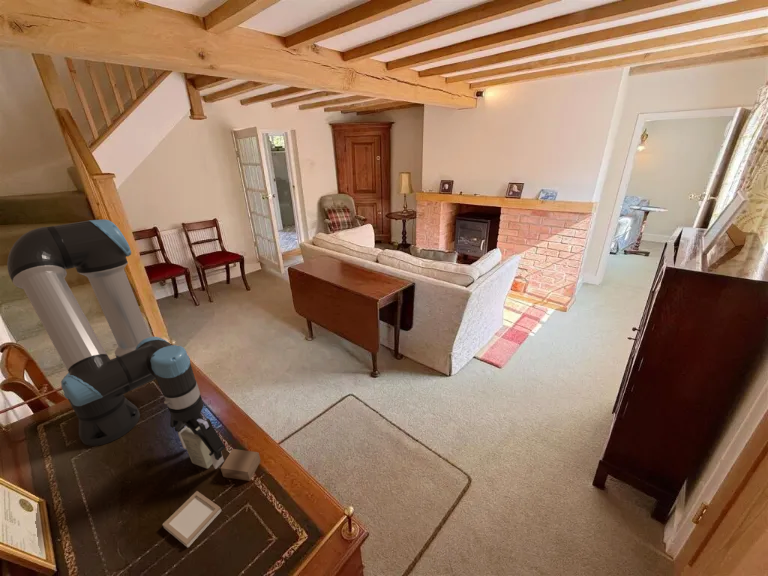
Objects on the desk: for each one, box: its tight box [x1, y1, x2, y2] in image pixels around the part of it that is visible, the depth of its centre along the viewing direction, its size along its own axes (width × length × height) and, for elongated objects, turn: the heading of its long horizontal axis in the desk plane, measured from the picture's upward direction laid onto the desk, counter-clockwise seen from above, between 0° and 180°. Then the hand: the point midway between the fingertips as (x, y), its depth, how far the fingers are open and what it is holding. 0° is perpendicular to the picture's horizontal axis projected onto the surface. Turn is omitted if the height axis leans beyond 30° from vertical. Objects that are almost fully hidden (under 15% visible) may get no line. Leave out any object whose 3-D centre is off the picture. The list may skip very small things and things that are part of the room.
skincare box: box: [180, 427, 213, 470], centre depth 90 cm, size 6×4×12 cm
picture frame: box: [162, 490, 222, 548], centre depth 78 cm, size 9×9×2 cm
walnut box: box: [220, 448, 261, 482], centre depth 90 cm, size 8×6×4 cm
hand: (203, 454), depth 92 cm, fingers open, 13 cm apart
